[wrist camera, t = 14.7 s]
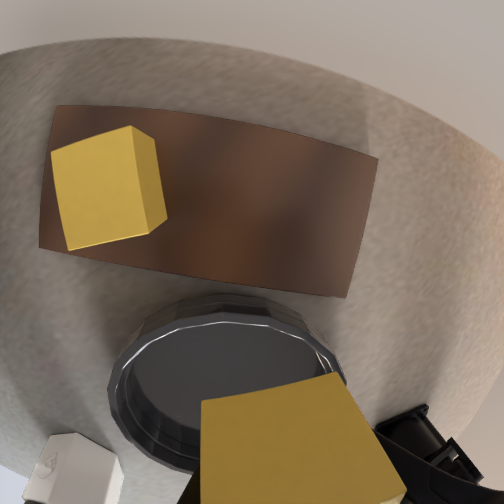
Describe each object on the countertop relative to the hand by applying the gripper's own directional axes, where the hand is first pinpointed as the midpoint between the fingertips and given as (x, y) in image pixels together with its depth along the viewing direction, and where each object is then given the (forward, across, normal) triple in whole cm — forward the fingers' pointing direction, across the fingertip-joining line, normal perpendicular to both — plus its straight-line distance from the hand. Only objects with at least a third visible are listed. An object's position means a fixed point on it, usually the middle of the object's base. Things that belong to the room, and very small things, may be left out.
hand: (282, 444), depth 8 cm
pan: (+11, +3, +7) cm, 13 cm away
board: (+11, +2, -7) cm, 13 cm away
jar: (+11, +20, +15) cm, 27 cm away
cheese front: (0, 0, 0) cm, 0 cm away
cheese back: (+10, +5, -9) cm, 14 cm away
